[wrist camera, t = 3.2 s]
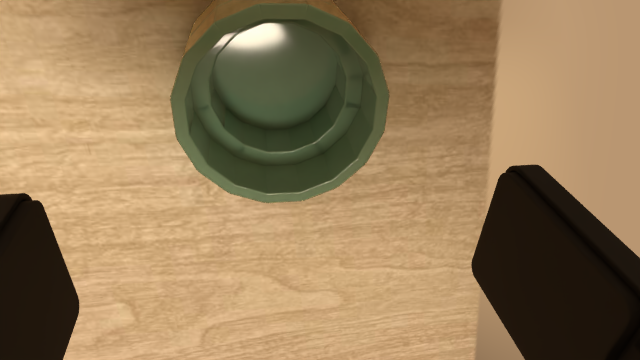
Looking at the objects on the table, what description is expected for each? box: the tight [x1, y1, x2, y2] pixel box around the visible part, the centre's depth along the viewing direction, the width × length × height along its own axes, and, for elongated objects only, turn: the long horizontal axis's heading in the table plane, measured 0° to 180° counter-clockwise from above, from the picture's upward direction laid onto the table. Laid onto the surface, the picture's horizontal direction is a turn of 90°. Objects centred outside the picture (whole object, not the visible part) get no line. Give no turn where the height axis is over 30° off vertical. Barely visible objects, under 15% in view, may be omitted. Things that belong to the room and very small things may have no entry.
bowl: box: [170, 0, 389, 203], centre depth 16 cm, size 7×7×4 cm
